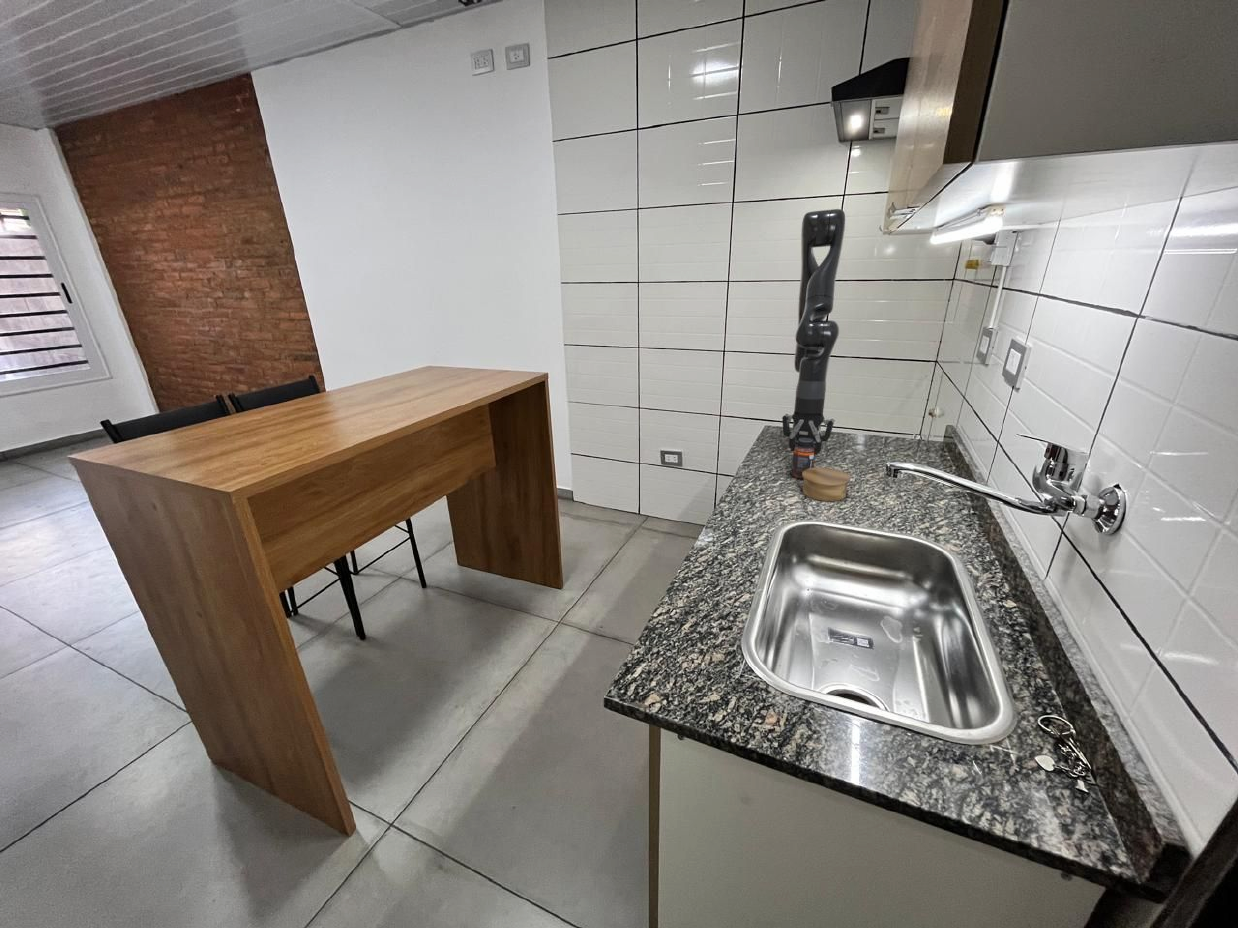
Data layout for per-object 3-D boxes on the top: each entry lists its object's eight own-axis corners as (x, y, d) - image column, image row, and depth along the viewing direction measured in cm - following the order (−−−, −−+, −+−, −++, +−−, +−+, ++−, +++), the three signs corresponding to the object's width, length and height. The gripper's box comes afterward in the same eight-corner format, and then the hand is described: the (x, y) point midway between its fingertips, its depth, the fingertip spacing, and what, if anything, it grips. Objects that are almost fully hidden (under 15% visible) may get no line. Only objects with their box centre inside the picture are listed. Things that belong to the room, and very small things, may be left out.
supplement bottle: (815, 479, 140) (820, 442, 136) (794, 480, 140) (798, 443, 136) (808, 471, 146) (812, 436, 142) (788, 472, 146) (792, 436, 142)
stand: (806, 480, 140) (808, 464, 138) (851, 488, 133) (854, 472, 132) (795, 496, 130) (797, 479, 129) (843, 505, 124) (845, 487, 122)
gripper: (840, 394, 133) (833, 451, 139) (787, 390, 141) (782, 444, 147) (835, 400, 127) (827, 460, 134) (780, 395, 135) (775, 452, 141)
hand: (804, 451), depth 140 cm, fingers closed on supplement bottle, 6 cm apart
